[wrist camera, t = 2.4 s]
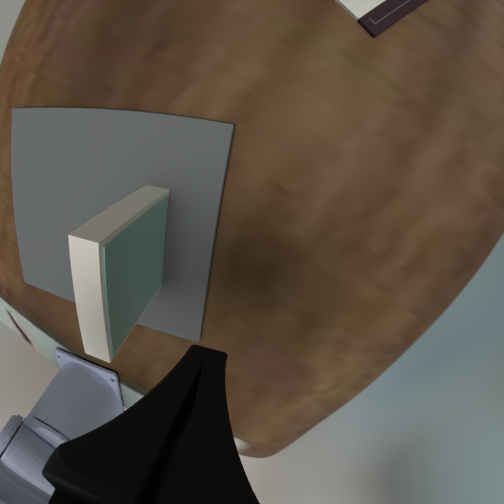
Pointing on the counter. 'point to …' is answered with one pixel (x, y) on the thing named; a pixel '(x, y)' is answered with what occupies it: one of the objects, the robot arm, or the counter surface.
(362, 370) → the counter surface
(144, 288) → the tile
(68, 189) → the mat
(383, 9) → the chocolate bar
